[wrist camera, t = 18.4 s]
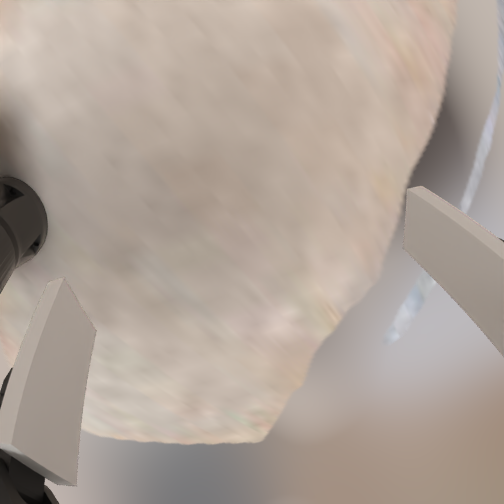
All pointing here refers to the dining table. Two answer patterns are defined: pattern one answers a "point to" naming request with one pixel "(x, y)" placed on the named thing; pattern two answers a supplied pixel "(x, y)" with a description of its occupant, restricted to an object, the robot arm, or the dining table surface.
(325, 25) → the dining table surface
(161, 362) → the dining table surface
